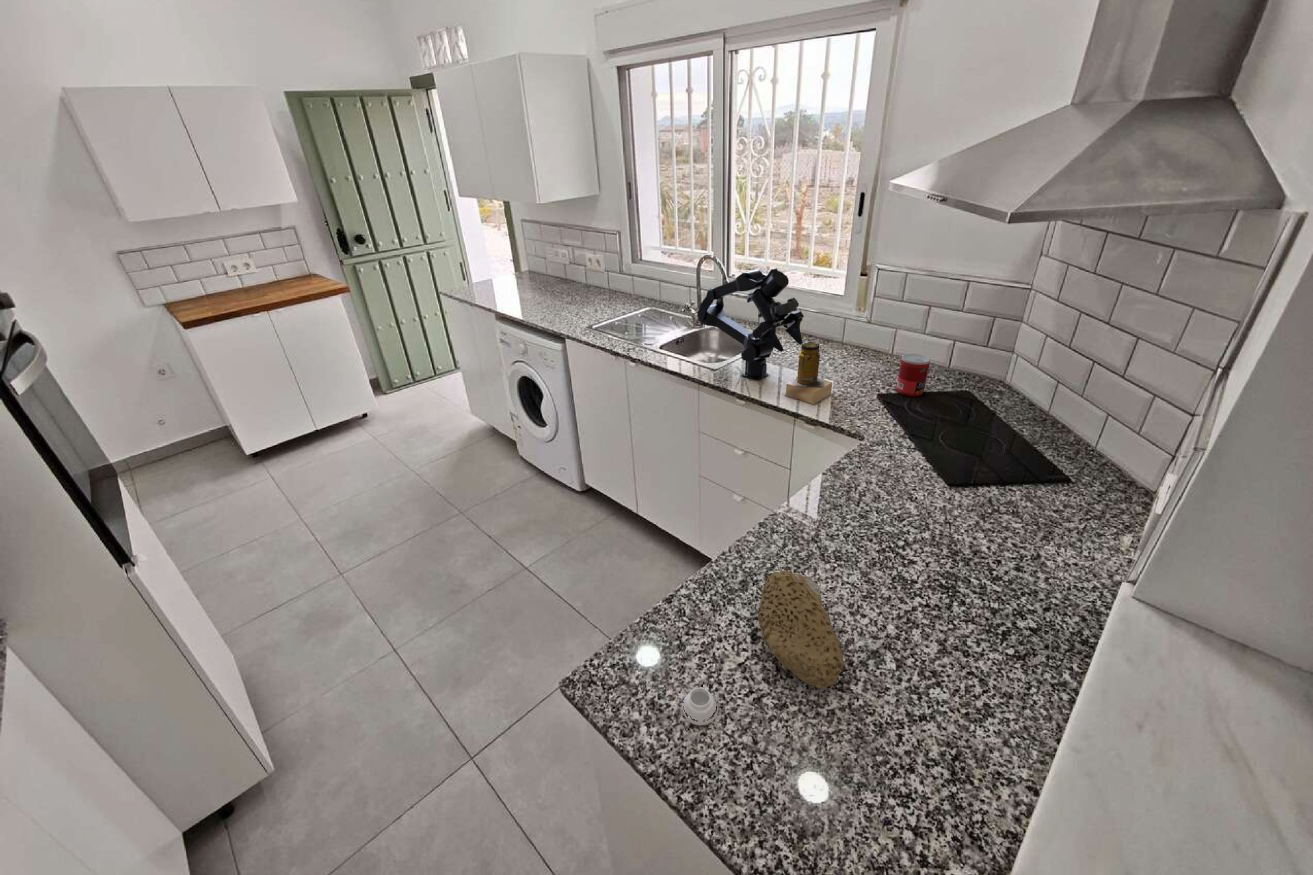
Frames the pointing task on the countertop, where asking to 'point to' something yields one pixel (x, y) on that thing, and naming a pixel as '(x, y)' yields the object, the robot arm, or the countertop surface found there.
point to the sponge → (799, 629)
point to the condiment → (809, 366)
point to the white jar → (699, 706)
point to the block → (808, 391)
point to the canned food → (913, 374)
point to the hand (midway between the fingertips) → (792, 347)
